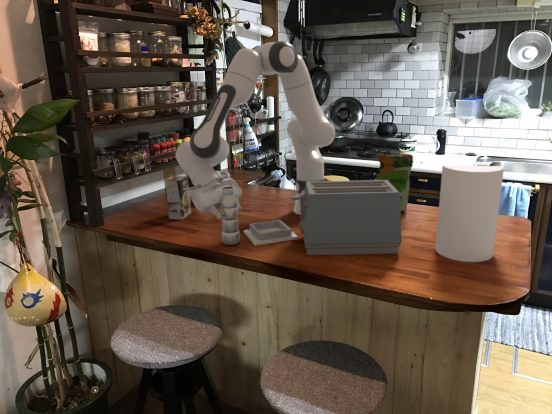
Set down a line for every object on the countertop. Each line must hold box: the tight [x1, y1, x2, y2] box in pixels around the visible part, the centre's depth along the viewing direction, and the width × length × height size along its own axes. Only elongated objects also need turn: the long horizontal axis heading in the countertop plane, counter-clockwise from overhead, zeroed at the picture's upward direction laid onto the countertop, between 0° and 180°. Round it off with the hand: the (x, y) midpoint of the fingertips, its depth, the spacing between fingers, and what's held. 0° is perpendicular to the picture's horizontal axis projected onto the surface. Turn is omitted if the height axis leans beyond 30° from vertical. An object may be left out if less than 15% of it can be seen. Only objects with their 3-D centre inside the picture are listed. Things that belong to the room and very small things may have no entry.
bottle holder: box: [243, 219, 299, 246], centre depth 164 cm, size 16×14×4 cm
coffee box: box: [165, 175, 192, 221], centre depth 187 cm, size 9×6×16 cm
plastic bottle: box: [218, 187, 241, 246], centre depth 155 cm, size 6×7×20 cm
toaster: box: [290, 179, 403, 256], centre depth 152 cm, size 19×35×20 cm, turn 89°
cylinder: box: [435, 165, 505, 263], centre depth 143 cm, size 17×17×28 cm
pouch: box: [376, 152, 414, 213], centre depth 184 cm, size 11×12×25 cm
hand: (230, 213), depth 155 cm, fingers open, 8 cm apart
